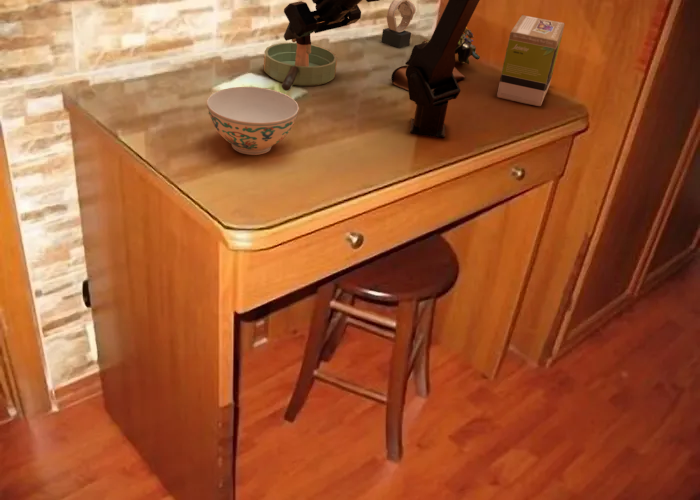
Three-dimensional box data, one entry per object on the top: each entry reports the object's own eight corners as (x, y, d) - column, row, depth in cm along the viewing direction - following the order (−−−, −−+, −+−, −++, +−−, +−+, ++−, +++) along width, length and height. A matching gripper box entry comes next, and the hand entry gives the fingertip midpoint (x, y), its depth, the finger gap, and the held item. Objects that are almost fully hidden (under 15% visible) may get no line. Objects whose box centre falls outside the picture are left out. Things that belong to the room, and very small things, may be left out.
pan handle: (289, 92, 140) (290, 84, 139) (280, 91, 140) (281, 82, 139) (299, 74, 149) (299, 65, 148) (290, 72, 149) (291, 64, 148)
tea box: (506, 77, 170) (521, 13, 162) (549, 86, 168) (567, 22, 160) (494, 97, 158) (510, 29, 150) (541, 108, 155) (559, 39, 147)
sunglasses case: (421, 93, 153) (413, 62, 152) (396, 100, 158) (388, 70, 157) (468, 77, 165) (460, 47, 164) (443, 83, 170) (435, 55, 169)
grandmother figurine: (318, 76, 155) (324, 16, 148) (304, 79, 153) (309, 18, 146) (296, 64, 160) (300, 5, 153) (282, 67, 157) (286, 7, 150)
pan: (330, 91, 150) (332, 71, 148) (257, 80, 150) (258, 60, 148) (338, 67, 163) (340, 48, 160) (271, 57, 163) (272, 38, 161)
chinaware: (247, 120, 133) (249, 80, 129) (312, 147, 127) (316, 106, 123) (187, 144, 123) (187, 101, 118) (255, 175, 116) (257, 131, 112)
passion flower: (455, 85, 177) (491, 53, 169) (429, 85, 169) (466, 52, 161) (433, 47, 179) (468, 14, 172) (407, 45, 171) (442, 11, 164)
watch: (413, 43, 183) (420, -1, 177) (394, 49, 178) (401, 3, 172) (395, 37, 186) (402, -7, 180) (376, 42, 180) (382, -3, 174)
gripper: (356, -49, 147) (310, -6, 158) (294, -40, 134) (249, 6, 145) (382, 1, 148) (335, 40, 159) (323, 14, 135) (276, 56, 146)
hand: (299, 34), depth 152 cm, fingers open, 9 cm apart
